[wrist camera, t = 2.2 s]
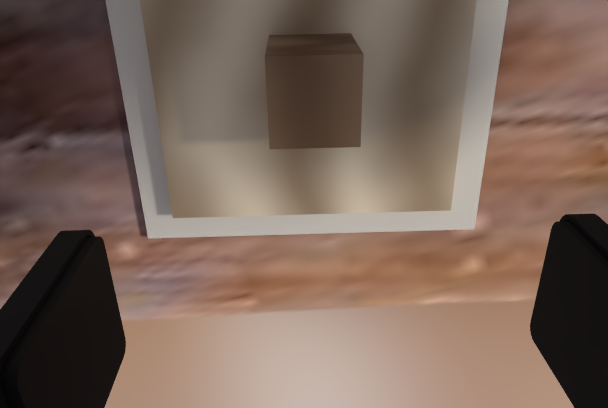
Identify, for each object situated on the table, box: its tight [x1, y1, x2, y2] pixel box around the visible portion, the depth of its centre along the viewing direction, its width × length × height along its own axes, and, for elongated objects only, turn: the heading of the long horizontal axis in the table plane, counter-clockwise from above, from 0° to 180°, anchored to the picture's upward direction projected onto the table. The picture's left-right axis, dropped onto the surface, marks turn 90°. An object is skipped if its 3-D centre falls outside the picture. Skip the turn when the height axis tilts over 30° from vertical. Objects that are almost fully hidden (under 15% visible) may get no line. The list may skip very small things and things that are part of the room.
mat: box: [105, 0, 509, 238], centre depth 28 cm, size 20×20×1 cm
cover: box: [140, 0, 477, 218], centre depth 25 cm, size 16×16×6 cm
